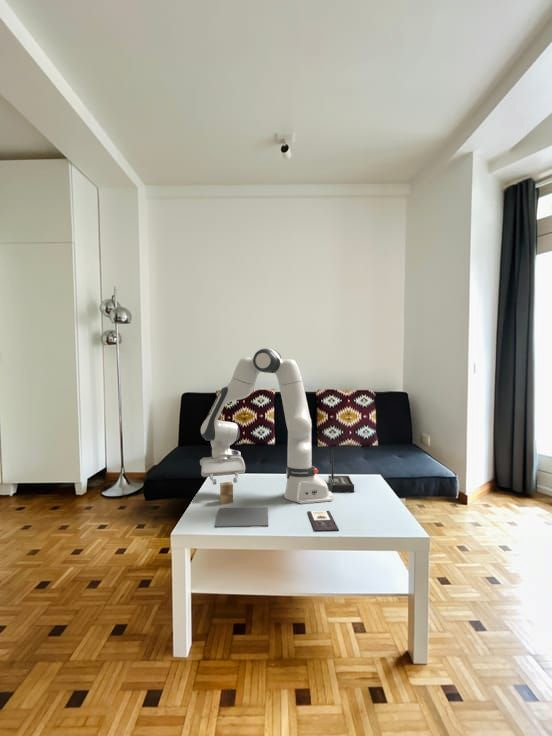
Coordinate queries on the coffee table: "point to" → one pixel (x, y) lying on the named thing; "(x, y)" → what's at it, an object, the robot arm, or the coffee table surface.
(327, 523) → the chocolate bar
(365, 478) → the coffee table surface
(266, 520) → the charcoal mat
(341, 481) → the wireless controller
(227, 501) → the oak block
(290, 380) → the robot arm
